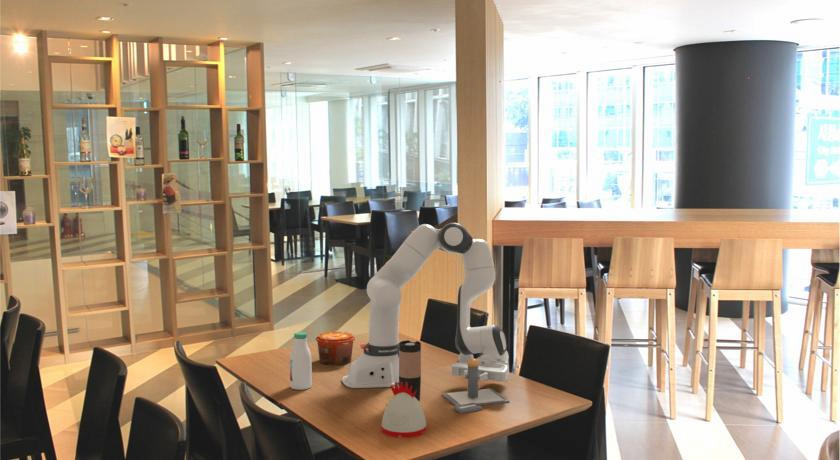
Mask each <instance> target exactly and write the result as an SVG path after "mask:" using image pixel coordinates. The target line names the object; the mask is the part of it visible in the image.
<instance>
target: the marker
mask: <svg viewBox="0 0 840 460" xmlns="http://www.w3.org/2000/svg"><path fill="white" fill-rule="evenodd" d="M478 366H479V359H477V358H476V357H475V358H470V359H468V379H467V391H468V397H469V398H477V397H478V390H479V380H477V375H478Z"/></svg>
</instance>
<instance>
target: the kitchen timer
mask: <svg viewBox="0 0 840 460" xmlns="http://www.w3.org/2000/svg"><path fill="white" fill-rule="evenodd" d="M390 389H391V391H392V393H393V396H392V397H391V398H390V399H389V401H388V402H387V403H386V404H385V409H384V412H383V415H382V419H381V427H380V431H381V432H382V433H383V434H385V435H386V436H389V437H392V438H393V437H394V438H402V439H403V438H404V439H405V438H416V437H419V436H422V435H423V434H425V433H426V432H427V420H426V419H427V418H426V416H425V412H424V410H423V406H422V405H421V402H419V401H420V400H419V401H418V400H417V399H416V398H415V397H414V396H415V394H416V391H417V390H416V391H415V392H414V393H413V394H412V393H411V390H412V386H411V387H410V389H409V390H408V384H407V382H406V383H405V387H404V388H403V382H401V385H400V389H399V383H397V382H395V385H394V386H392V385H391V387H390Z"/></svg>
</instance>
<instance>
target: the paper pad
mask: <svg viewBox="0 0 840 460" xmlns="http://www.w3.org/2000/svg"><path fill="white" fill-rule="evenodd" d="M441 396H443V397H444V398H445V399H447V401H449V402H450V403H451V404H452V405H453V406H458V405H463V404H469V403H475V404H477V405H479V406H488V405H496V404H504V403H510V400H509V399H507V398H506V397H504V396H503V395H502V394H500V393H498V391H496V390H494V389H492V388H482V389H481V388H480V389H478V397H477V398H469V397H468V390H462V391H461V390H460V391H453V392H444V393H443V392H442V393H441Z"/></svg>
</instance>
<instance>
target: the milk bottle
mask: <svg viewBox="0 0 840 460" xmlns="http://www.w3.org/2000/svg"><path fill="white" fill-rule="evenodd" d="M293 340H294V344H293V346H292V349H291V350H290V356H289V379H290V380H289V382H290V383H289V385H290V388H291V389H292V390H296V391H297V390H300V391H301V390H303V391H304V390H308V389H310V388H311V387H312V385H313V384H312V383H313V382H312V380H313V379H312V378H313V377H312V375H313V373H312V372H313V370H312V368H313V367H312V354H311V350H310V348H309V346H308V342H307V340H308V334H307V332H304V331H299V332H295V333H293Z"/></svg>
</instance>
